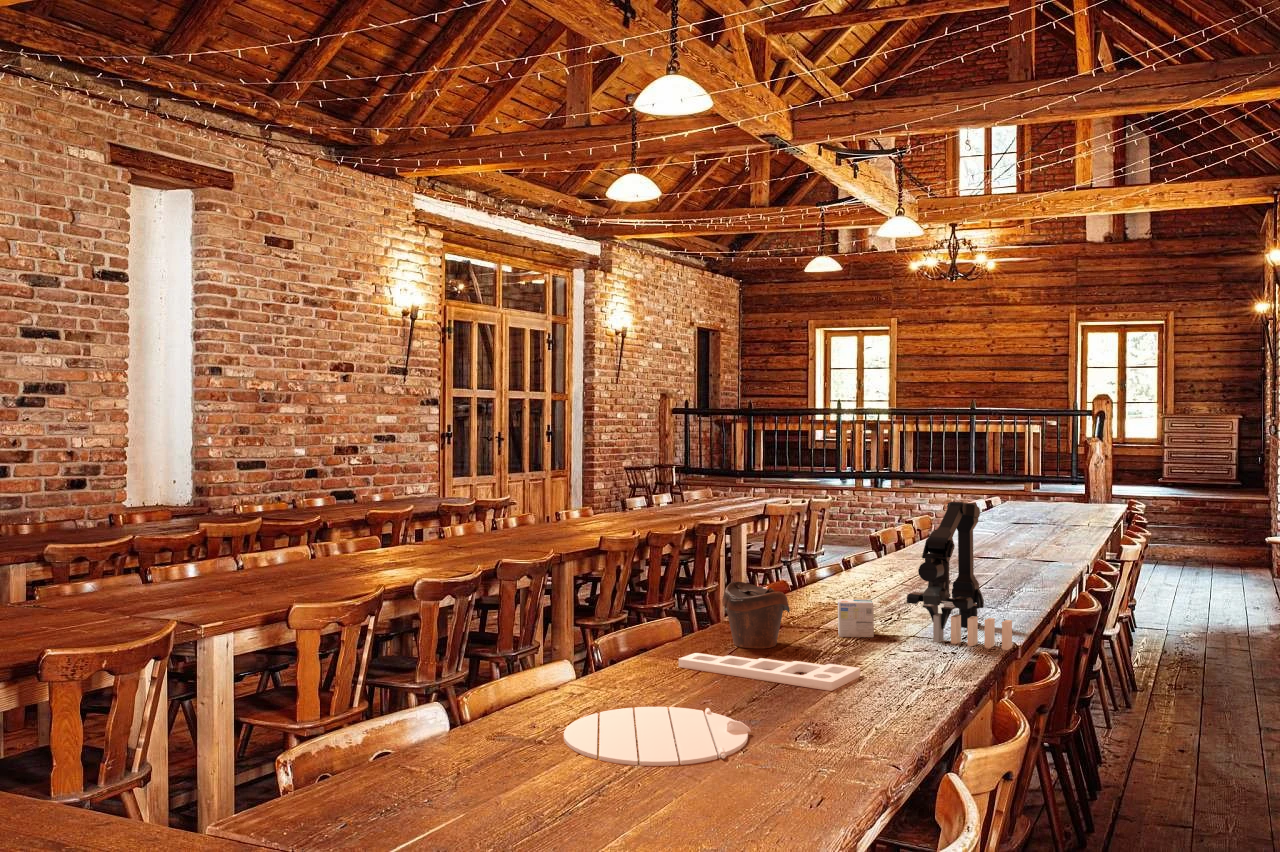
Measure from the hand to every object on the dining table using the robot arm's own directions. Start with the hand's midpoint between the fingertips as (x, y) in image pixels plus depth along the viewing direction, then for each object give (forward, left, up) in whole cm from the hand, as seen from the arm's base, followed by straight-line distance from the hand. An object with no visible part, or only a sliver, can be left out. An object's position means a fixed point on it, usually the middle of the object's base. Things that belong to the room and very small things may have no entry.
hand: (939, 628), depth 324 cm
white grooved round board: (+127, -17, -4) cm, 128 cm away
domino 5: (0, +20, -4) cm, 20 cm away
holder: (+63, -24, -4) cm, 68 cm away
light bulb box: (+7, -24, -4) cm, 25 cm away
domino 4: (0, +15, -4) cm, 15 cm away
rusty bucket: (+36, -43, -4) cm, 56 cm away
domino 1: (+1, 0, -4) cm, 4 cm away
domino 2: (0, +5, -4) cm, 6 cm away
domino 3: (0, +10, -4) cm, 11 cm away
